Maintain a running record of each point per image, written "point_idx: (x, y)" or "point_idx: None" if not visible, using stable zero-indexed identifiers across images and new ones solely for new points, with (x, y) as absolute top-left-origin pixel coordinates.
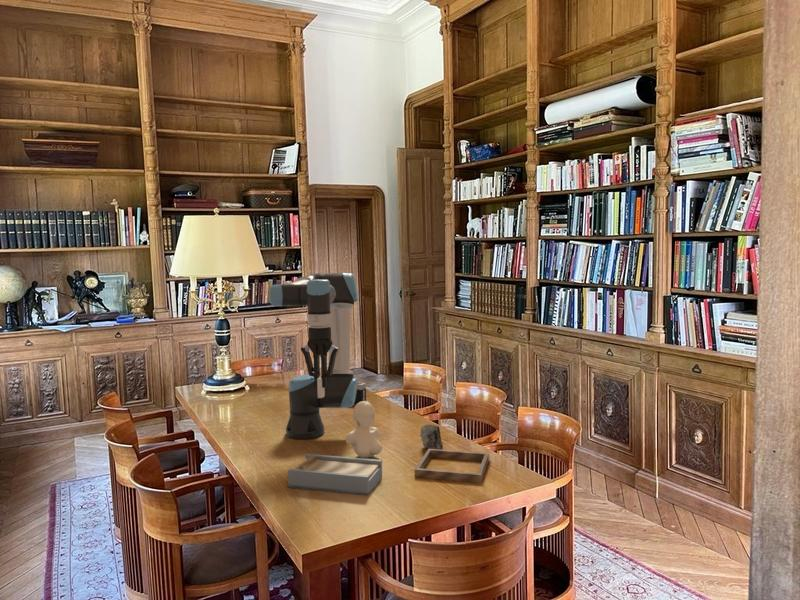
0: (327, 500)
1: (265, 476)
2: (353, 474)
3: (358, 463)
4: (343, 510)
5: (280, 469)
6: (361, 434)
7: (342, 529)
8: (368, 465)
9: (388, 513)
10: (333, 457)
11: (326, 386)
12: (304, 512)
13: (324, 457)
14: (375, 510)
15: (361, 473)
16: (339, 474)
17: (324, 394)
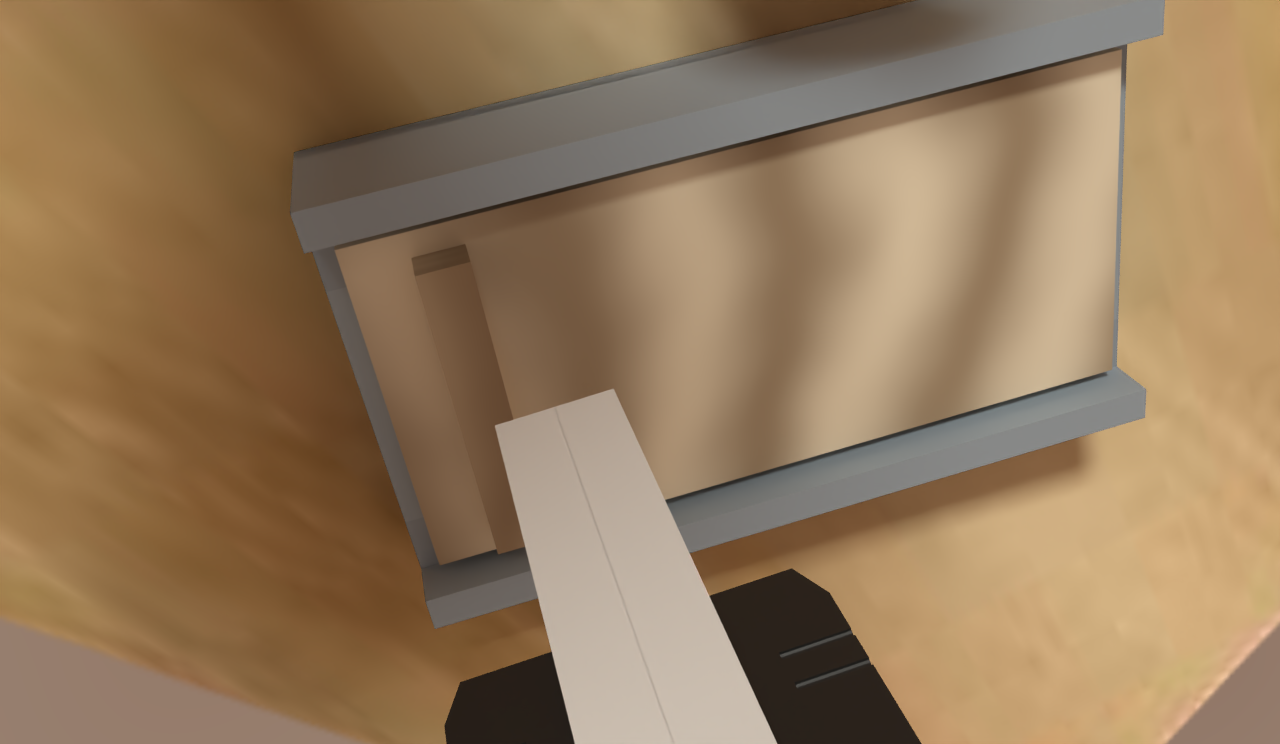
0: (827, 544)
1: (35, 470)
2: (1020, 427)
3: (924, 113)
4: (986, 592)
5: (8, 271)
6: None
7: (1062, 739)
8: (1036, 114)
9: (1249, 491)
10: (645, 166)
11: (803, 587)
12: None
13: (534, 189)
14: (1168, 499)
15: (1037, 311)
16: (910, 481)
17: (626, 422)
